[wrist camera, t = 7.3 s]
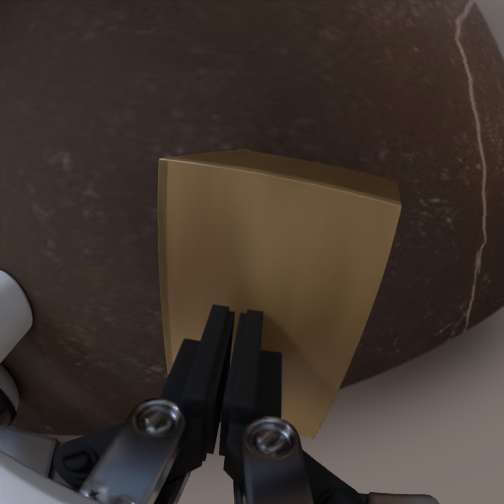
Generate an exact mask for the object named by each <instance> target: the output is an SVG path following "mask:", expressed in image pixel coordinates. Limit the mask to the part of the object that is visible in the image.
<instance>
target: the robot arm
mask: <svg viewBox="0 0 504 504" xmlns="http://www.w3.org/2000/svg"><path fill="white" fill-rule="evenodd" d="M234 319H235V312H233V311H229V307H228V306H222V305H215V304H213V305H212V308H211V311H210V314H209V317H208V320H207V323H206V326H205V328H204V331H203V334H202V337H201V340H200V341H197V340H192V339H186V338H185V339H184V340H183V341H182V344H181V346H180V349H179V351H178V353H177V356H176V358H175V361H174V363H173V366H172V368H171V371H170V373H169V376H168V378H167V381H166V383H165V386H164V388H163V391H162V393H161V396H160V398H151V399H147V400H144V401H142V402H140V403H139V404H137V405H136V406H135V408H134V409H133V410H132V411H131V413H130V414H129V416H128V417H127V419H126V420H125V422H124V423H122V424H119V425H116V426H113V427H110V428H107V429H105V430H102V431H99V432H96V433H93V434H89V435H86V436H83V437H80V438H77V439H74V440H70V441H67V442H65V443H62V442H58V440H57V439H55V438H51V437H47V436H44V435H40V434H36V433H33V432H29V431H26V430H23V429H19V428H16V427H13V426H10V425H1V426H0V504H177V503H178V501H179V498H180V496H181V494H182V492H183V490H184V487H185V485H186V483H187V481H188V478H189V476H190V473H191V471H193V470H194V469H196V468H198V467H200V466H202V461H205V459H206V455H207V453H210V454H213V453H214V448H215V443H216V438H217V432H218V428H219V422H220V417H221V412H222V419H221V433H220V447H219V455H222V456H225V459H224V471H225V472H226V473H227V474H228V475H229V476H230V477H231V478H232V479H233V480H234V481H233V486H234V504H439V503H438V501H437V500H436V499H435V498H434V497H432V496H430V495H425V494H424V495H423V494H422V495H421V494H420V495H419V494H388V493H375V492H370V493H369V494H361V493H358V492H357V491H356V490H355V489H353V488H352V487H350V486H349V485H348V484H346V483H345V482H344V481H342V480H341V479H339V478H338V477H337V476H335V475H334V474H333V473H331V472H330V471H329V470H327V469H326V468H325V467H324V466H322V465H321V464H320V463H318V462H317V461H316V460H315V459H313V458H312V457H311V456H310V455H308V454H307V453H306V452H305V451H304V450H302V447H301V442H300V437H299V434H298V432H297V430H296V428H295V427H294V426H293V425H292V424H291V423H289V422H288V421H286V420H284V419H282V418H281V413H282V353H281V352H273V351H265V350H260V349H261V337H262V325H263V311H257V310H250V309H247V313H240V317H239V322H238V327H237V332H236V337H235V342H234V348H233V353H232V358H231V349H232V339H233V329H234ZM230 359H231V363H230Z"/></svg>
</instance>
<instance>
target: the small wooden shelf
mask: <svg viewBox="0 0 504 504" xmlns="http://www.w3.org/2000/svg"><path fill="white" fill-rule="evenodd" d="M400 212H401V202H400V196H399V190H398V184H397V181H395V180H391V179H387V178H383V177H379V176H375V175H371V174H367V173H363V172H359V171H355V170H350V169H346V168H341V167H337V166H332V165H327V164H322V163H317V162H312V161H307V160H302V159H296V158H291V157H285V156H279V155H273V154H267V153H260V152H253V151H251V150H247V149H237V150H225V151H214V152H205V153H196V154H187V155H179V156H172V157H164V158H160V159H159V170H158V253H159V277H160V295H161V309H162V322H163V333H164V344H165V353H166V362H167V370H168V374H169V373H170V371H171V368H172V366H173V363H174V361H175V358H176V356H177V353H178V351H179V349H180V346H181V344H182V341H183V340H184V339H185V338H186V339H192V340H197V341H200V340H201V337H202V334H203V331H204V328H205V326H206V323H207V320H208V317H209V314H210V311H211V308H212V305H213V304H215V305H222V306H228V307H229V311H233V312H235V319H234V329H233V339H232V349H231V358H232V353H233V348H234V342H235V337H236V332H237V327H238V322H239V317H240V313H247V309H250V310H257V311H263V325H262V337H261V349H260V350H265V351H273V352H281V353H282V413H281V418H282V419H284V420H286V421H288V422H289V423H291V424H292V425H293V426H294V427H295V428H296V430H297V432H298V434H300V435H302V436H305V437H308V438H311V439H314V438H315V435H316V434H317V432H318V430H319V428H320V426H321V424H322V422H323V420H324V419H325V416H326V415H327V412H328V410H329V409H330V406H331V404H332V402H333V400H334V398H335V396H336V394H337V392H338V390H339V388H340V385H341V383H342V381H343V379H344V377H345V374H346V372H347V370H348V368H349V365H350V363H351V361H352V358H353V356H354V353H355V351H356V349H357V346H358V344H359V341H360V339H361V336H362V333H363V331H364V328H365V326H366V323H367V320H368V318H369V315H370V312H371V309H372V307H373V304H374V301H375V298H376V295H377V292H378V289H379V286H380V283H381V280H382V277H383V274H384V270H385V267H386V264H387V260H388V257H389V254H390V250H391V247H392V243H393V239H394V236H395V232H396V228H397V224H398V220H399V216H400ZM230 363H231V359H230Z"/></svg>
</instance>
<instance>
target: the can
mask: <svg viewBox="0 0 504 504" xmlns="http://www.w3.org/2000/svg"><path fill="white" fill-rule="evenodd" d="M31 326H32V309H31V305H30V303H29V300H28V298H27V296H26V294H25V292H24V291H23V289H22V288H21V286H20V285H19V283H18V282H17V281H16V280H15V279H14V278H13V277H12V276H11V275H9V274H8V273H6V272H4V271H1V270H0V363H1V362H2V361H3V359H4V358H5V357H6V356H7V355H8V353H9V352H10V351H11V350H12V349H13V348H14V346H15V345H16V344H17V343H18V342H19V341H20V340H21V338H22V337H23V336H24V335H25V334H26V333H27V331H28V330H29V329H30V328H31Z"/></svg>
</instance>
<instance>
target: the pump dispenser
mask: <svg viewBox="0 0 504 504" xmlns="http://www.w3.org/2000/svg"><path fill="white" fill-rule="evenodd" d="M18 403H19V394H18V390H17V386H16V384H15V382H14V380H13V378H12V376H11V375H10V374H9V372H8V371H7V370H6V369H5V367H4V366H3V365H2V364H1V363H0V426H1V425H10V424H11V423H12V422H13V420H14V419H15V417H16V415H17V412H16V410H17V407H18Z"/></svg>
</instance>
